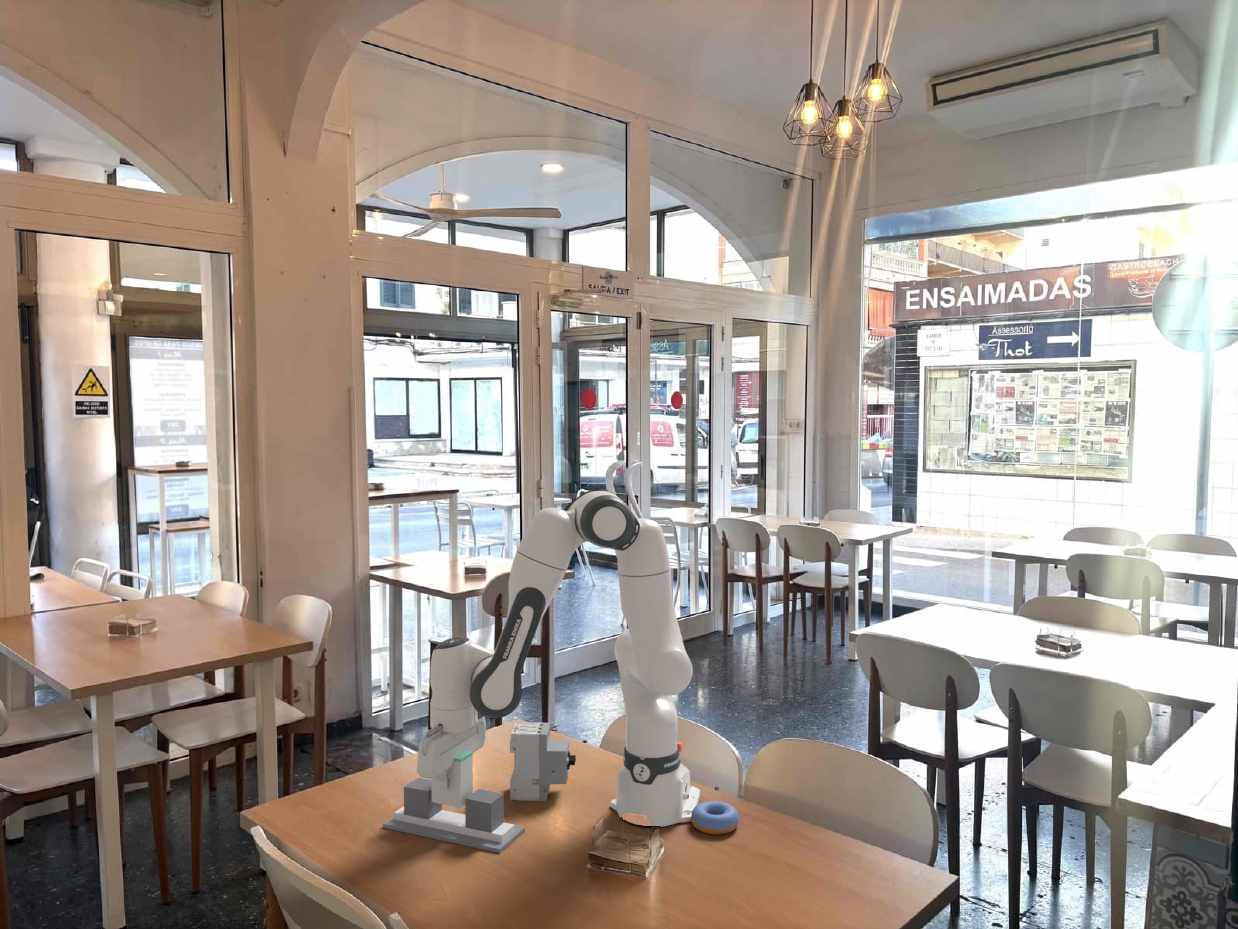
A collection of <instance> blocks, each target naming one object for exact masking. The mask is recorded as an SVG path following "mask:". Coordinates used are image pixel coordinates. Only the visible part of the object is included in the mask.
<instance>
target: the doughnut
mask: <svg viewBox="0 0 1238 929" xmlns="http://www.w3.org/2000/svg"><path fill="white" fill-rule="evenodd" d="M739 821H740V816H739V812H738V810H737V808H735V807H734V805H732V804H729V803H727V802H724V801H719V800H710V801H709V800H708V801H704V802H700V803H698V805H696V806H695V807H694V809H693V810H692V815H691V821H690V822H691V823H692V825H693V826H694V828H695V829H696V830H698V831H700V832H702V833H704V834H707V835H708V834H709V835H717V836H718V835H726V834H728V833H731V832H733V831H734V830H736V828H737V827H738V825H739Z"/></svg>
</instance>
